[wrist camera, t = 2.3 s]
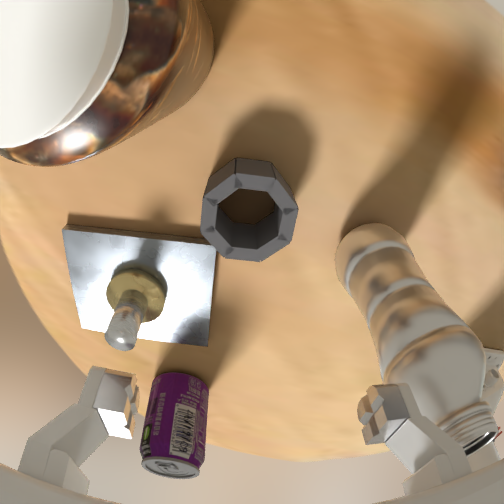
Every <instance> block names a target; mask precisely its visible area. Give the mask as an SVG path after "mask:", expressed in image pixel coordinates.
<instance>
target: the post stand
mask: <svg viewBox="0 0 504 504" xmlns="http://www.w3.org/2000/svg"><path fill="white" fill-rule="evenodd" d="M62 233H63V239H64V246H65V252H66V258H67V263H68V269H69V274H70V279H71V284H72V289H73V293H74V298H75V302H76V306H77V310H78V314H79V318H80V322H81V326H82V328H85V329H90V330H95V331H101V332H105V339H106V341H107V342H108V344H109V345H111V346H112V347H114V348H115V349H118V350H122V351H128V350H131V349H133V348H134V346H135V343H136V340H137V338H143V339H150V340H157V341H165V342H172V343H180V344H189V345H198V346H207V347H208V336H209V324H210V312H211V301H212V289H213V279H214V268H215V258H216V249H215V248H214V247H213V246H212V245H211V244H210V243H209V241H208V240H207V239H203V238H194V237H184V236H175V235H166V234H156V233H147V232H137V231H128V230H118V229H108V228H98V227H88V226H79V225H69V224H67V225H66V226H65V227H64V228H63V229H62Z"/></svg>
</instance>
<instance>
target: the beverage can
mask: <svg viewBox="0 0 504 504" xmlns="http://www.w3.org/2000/svg"><path fill="white" fill-rule="evenodd" d="M208 396H209V390H208V387H207V386H206V384H205V383H204V382H202V381H201V380H200V379H198V378H196V377H194V376H191V375H188V374H184V373H176V372H171V373H164V374H161V375H159V376H157V377H156V378H155V379H154V380H153V383H152V387H151V392H150V397H149V402H148V407H147V412H146V417H145V422H144V428H143V433H142V439H141V444H140V453H141V456H142V459H143V460H142V467H143V468H145V469H146V470H148V471H149V472H151V473H153V474H156V475H159V476H163V477H168V478H174V479H189V478H194V477H197V476H198V475H199V468H200V467H201V465H202V463H203V462H204V458H205V442H206V426H207V411H208Z"/></svg>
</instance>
